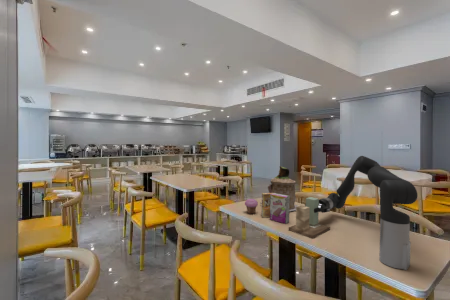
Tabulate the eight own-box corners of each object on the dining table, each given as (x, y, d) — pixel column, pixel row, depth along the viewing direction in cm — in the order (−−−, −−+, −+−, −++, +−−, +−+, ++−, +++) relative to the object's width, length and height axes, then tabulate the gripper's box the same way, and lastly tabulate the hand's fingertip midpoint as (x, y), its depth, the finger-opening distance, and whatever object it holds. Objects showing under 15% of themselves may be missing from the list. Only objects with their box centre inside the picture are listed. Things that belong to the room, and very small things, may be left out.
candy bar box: (269, 219, 136) (269, 194, 135) (273, 218, 139) (273, 192, 139) (285, 224, 128) (286, 197, 128) (289, 222, 132) (290, 195, 131)
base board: (329, 229, 121) (330, 205, 120) (312, 238, 109) (313, 212, 108) (306, 222, 131) (307, 200, 131) (288, 230, 119) (289, 205, 119)
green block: (318, 223, 123) (318, 198, 123) (313, 225, 120) (314, 200, 120) (310, 220, 127) (310, 197, 127) (305, 222, 124) (305, 198, 124)
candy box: (263, 217, 140) (263, 194, 140) (261, 215, 144) (261, 192, 144) (276, 217, 141) (276, 193, 141) (273, 215, 145) (274, 192, 145)
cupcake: (246, 215, 144) (247, 200, 144) (243, 211, 153) (243, 197, 153) (259, 214, 146) (259, 199, 146) (255, 210, 154) (255, 196, 154)
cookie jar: (306, 209, 159) (307, 166, 158) (280, 214, 148) (280, 167, 147) (283, 202, 181) (283, 163, 180) (258, 205, 170) (259, 164, 169)
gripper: (313, 196, 138) (298, 200, 127) (336, 201, 127) (322, 205, 116) (312, 208, 138) (298, 213, 127) (336, 213, 127) (322, 219, 116)
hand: (309, 209), depth 122 cm, fingers closed on green block, 5 cm apart
